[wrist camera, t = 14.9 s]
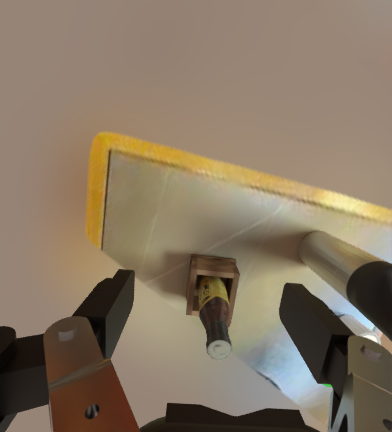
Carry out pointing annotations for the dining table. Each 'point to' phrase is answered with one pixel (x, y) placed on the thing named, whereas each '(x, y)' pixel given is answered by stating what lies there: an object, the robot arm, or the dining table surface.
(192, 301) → the bottle caddy
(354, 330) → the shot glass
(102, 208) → the dining table surface
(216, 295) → the sauce bottle
